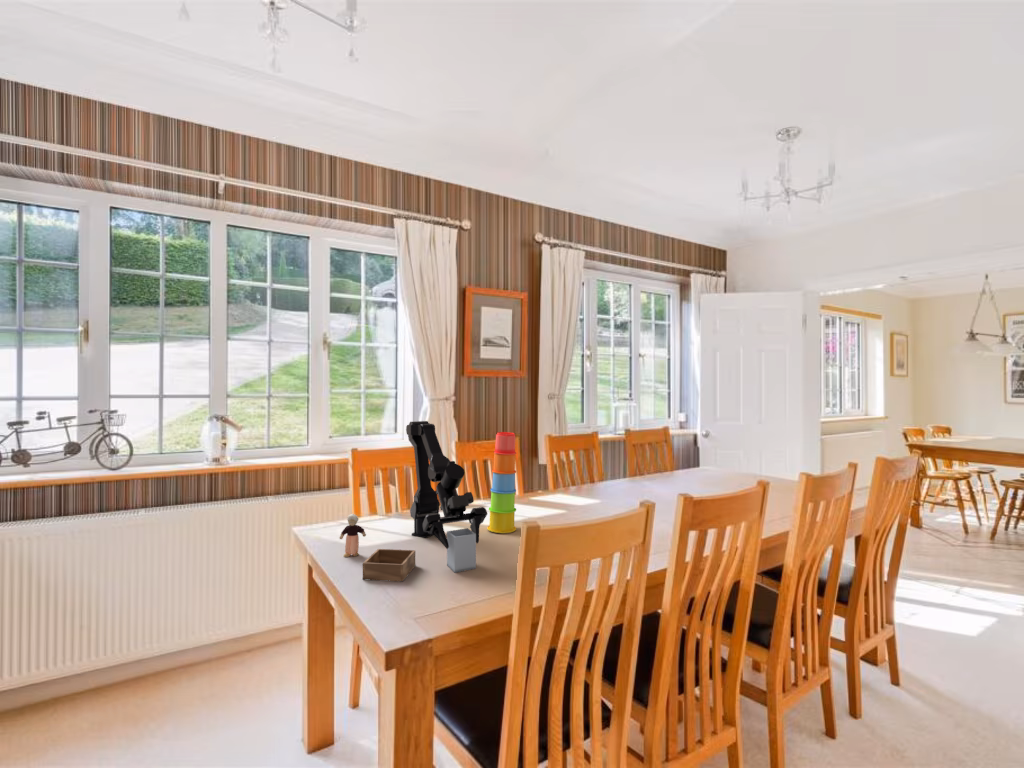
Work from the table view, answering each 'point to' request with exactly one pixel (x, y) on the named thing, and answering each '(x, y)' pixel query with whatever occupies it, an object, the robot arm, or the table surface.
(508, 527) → the stacking cups
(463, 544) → the grey upright prism
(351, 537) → the grandmother figurine
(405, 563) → the crate large
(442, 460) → the robot arm
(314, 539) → the table surface
